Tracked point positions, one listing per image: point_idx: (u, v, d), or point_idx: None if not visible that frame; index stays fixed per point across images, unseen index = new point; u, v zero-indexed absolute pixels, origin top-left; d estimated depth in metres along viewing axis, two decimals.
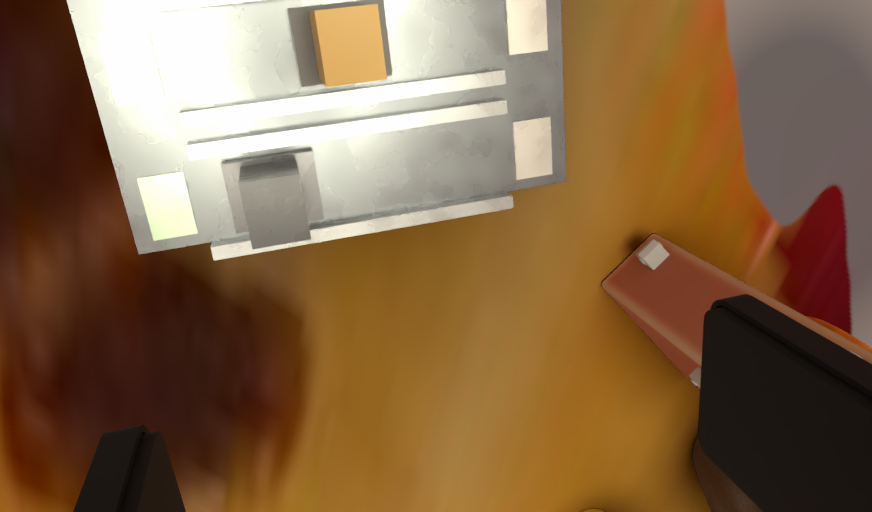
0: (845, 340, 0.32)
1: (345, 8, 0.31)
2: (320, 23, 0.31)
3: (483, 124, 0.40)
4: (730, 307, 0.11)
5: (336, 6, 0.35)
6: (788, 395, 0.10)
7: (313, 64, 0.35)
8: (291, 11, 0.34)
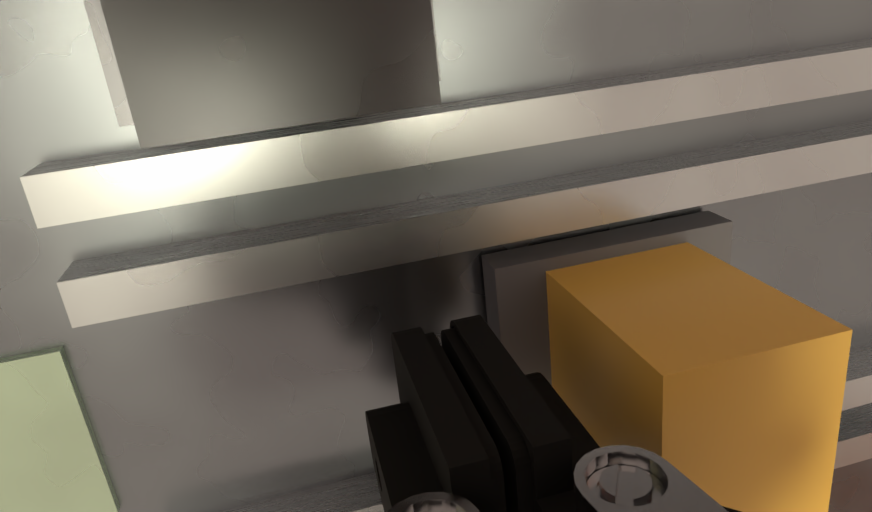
0: None
1: (757, 355, 0.09)
2: (675, 409, 0.09)
3: None
4: (456, 328, 0.11)
5: (615, 252, 0.13)
6: None
7: None
8: (502, 275, 0.12)
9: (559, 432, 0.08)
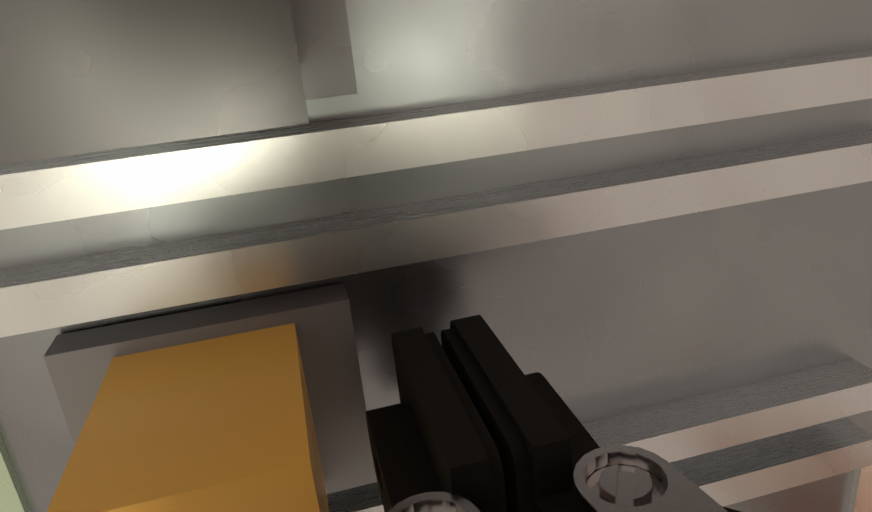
0: None
1: (177, 497, 0.08)
2: None
3: None
4: (456, 328, 0.11)
5: (201, 336, 0.11)
6: None
7: None
8: (55, 363, 0.11)
9: (558, 432, 0.08)
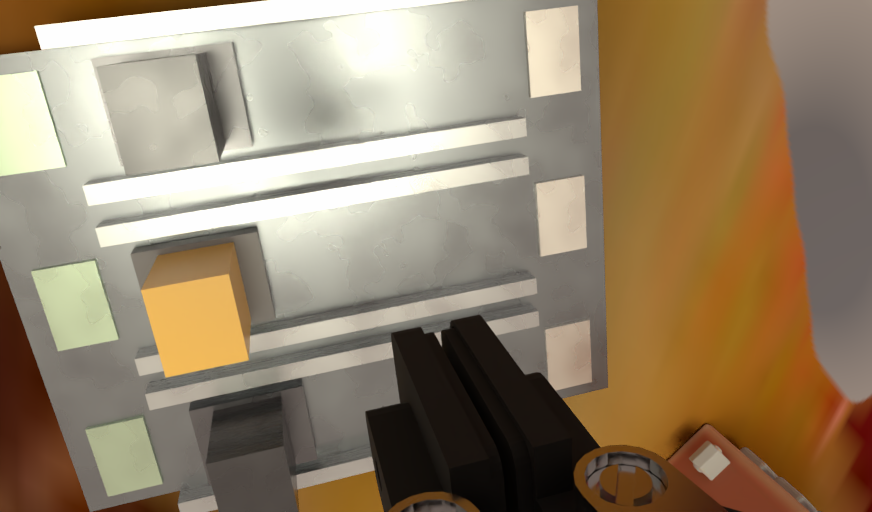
0: None
1: (184, 283, 0.23)
2: (151, 304, 0.23)
3: (509, 333, 0.33)
4: (456, 328, 0.11)
5: (194, 246, 0.27)
6: None
7: None
8: (134, 257, 0.27)
9: (559, 432, 0.08)
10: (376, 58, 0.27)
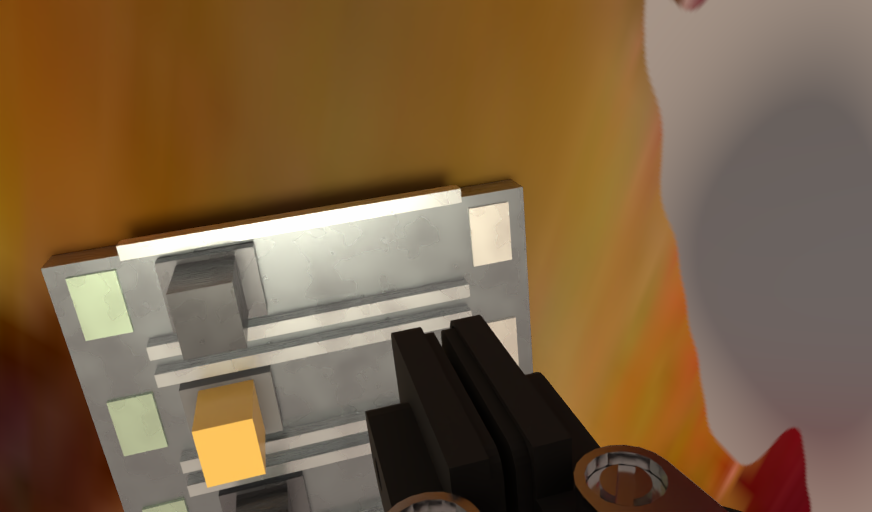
0: None
1: (221, 426, 0.34)
2: (198, 440, 0.34)
3: None
4: (456, 328, 0.11)
5: (224, 383, 0.37)
6: None
7: None
8: (181, 392, 0.37)
9: (559, 432, 0.08)
10: (358, 246, 0.37)
